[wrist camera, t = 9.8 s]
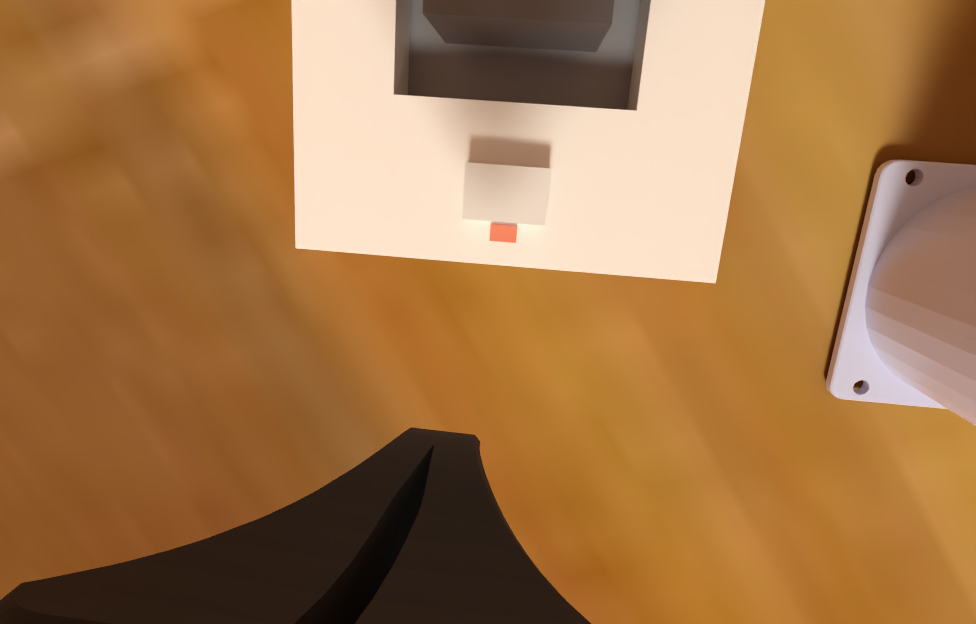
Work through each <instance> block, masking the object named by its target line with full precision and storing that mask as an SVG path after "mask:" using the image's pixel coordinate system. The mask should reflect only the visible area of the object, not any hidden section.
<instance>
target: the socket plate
mask: <svg viewBox="0 0 976 624" xmlns="http://www.w3.org/2000/svg"><path fill="white" fill-rule="evenodd" d="M764 4H765V0H615V1H614V10H613V19H612V25H611V26H610V28H609V30H608V32H607V34H606V35H605V37H604V39H603V41H602V43H601V44H600V46H599V48H598V50H597V52H583V51H566V50H550V49H533V48H516V47H499V46H482V45H466V44H449V43H445V42H444V40H443V39H442V38H441V37H440V35H439V34H438V33H437V31H436V30H435V29H434V27H433V26H432V25H431V24H430V22H429V21H428V20H427V18H426V17H425V16H424V14H423V0H292V53H293V116H294V178H295V241H296V248H300V249H312V250H324V251H336V252H348V253H360V254H372V255H384V256H396V257H408V258H420V259H432V260H444V261H456V262H468V263H480V264H492V265H504V266H516V267H528V268H540V269H552V270H564V271H576V272H588V273H600V274H612V275H624V276H636V277H648V278H660V279H672V280H684V281H696V282H708V283H716V278H717V272H718V267H719V261H720V255H721V250H722V244H723V238H724V233H725V227H726V221H727V215H728V210H729V204H730V198H731V193H732V187H733V181H734V175H735V170H736V164H737V158H738V153H739V147H740V141H741V135H742V130H743V124H744V118H745V113H746V107H747V101H748V96H749V90H750V84H751V78H752V73H753V67H754V61H755V56H756V50H757V44H758V38H759V33H760V27H761V21H762V16H763V10H764Z"/></svg>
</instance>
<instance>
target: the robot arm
mask: <svg viewBox="0 0 976 624" xmlns="http://www.w3.org/2000/svg"><path fill="white" fill-rule="evenodd" d="M910 170H913V171H914V172H915V179H914V181H913V182H912V183H911V184H910V185H908V184H907V183H906V175H907V173H908V172H909V171H910ZM860 380H863V385H862V387H861V388H859V389H858V390H853V386H854V384H855V383H856V382H858V381H860ZM826 387H827V389H828V391H829V392H830V393H832V394H833V395H834V396H835V397H837V398H840V399H847V400H857V401H868V402H879V403H889V404H900V405H911V406H921V407H932V408H943V409H949V410H950V411H952V412H954V413H955V414H957V415H959V416H960V417H962V418H963V419H965V420H967V421H968V422H970V423H972V424H973V425H975V426H976V165H970V164H956V163H942V162H927V161H913V160H888V161H887V162H885V163H883V164H882V165H881V166H880V167H879V168H878V169H877V171H876V173H875V176H874V180H873V185H872V189H871V193H870V197H869V201H868V206H867V210H866V214H865V218H864V223H863V227H862V231H861V235H860V240H859V244H858V248H857V252H856V257H855V261H854V265H853V269H852V273H851V278H850V282H849V286H848V290H847V295H846V299H845V303H844V307H843V312H842V316H841V320H840V324H839V329H838V333H837V337H836V341H835V345H834V350H833V354H832V358H831V362H830V367H829V371H828V375H827V379H826ZM479 447H480V441H479V440H478V438H477V437H476V436H475V435H471V434H462V433H454V432H445V431H436V430H427V429H419V428H410V429H408V430H407V431H405V432H404V433H402V434H401V435H400V436H398V437H397V438H396V439H394V440H393V441H391V442H390V443H389V444H387V445H386V446H385V447H383V448H382V449H381V450H379V451H378V452H376V453H375V454H373V455H372V456H371V457H369V458H368V459H366V460H365V461H363V462H362V463H361V464H359V465H358V466H356V467H355V468H353V469H351V470H350V471H348V472H347V473H345V474H343V475H342V476H340V477H338V478H337V479H335V480H333V481H332V482H330V483H329V484H327V485H325V486H324V487H322V488H320V489H319V490H317V491H315V492H313V493H312V494H310V495H308V496H306V497H304V498H302V499H300V500H298V501H296V502H294V503H292V504H290V505H288V506H286V507H284V508H282V509H279V510H277V511H275V512H273V513H271V514H269V515H267V516H264V517H262V518H260V519H257V520H255V521H252V522H249V523H247V524H244V525H241V526H239V527H236V528H233V529H231V530H228V531H225V532H223V533H220V534H217V535H215V536H212V537H210V538H207V539H204V540H201V541H198V542H195V543H191V544H188V545H185V546H182V547H178V548H175V549H172V550H169V551H165V552H161V553H157V554H154V555H150V556H146V557H143V558H139V559H135V560H131V561H127V562H123V563H119V564H115V565H111V566H106V567H101V568H96V569H91V570H86V571H81V572H76V573H72V574H67V575H62V576H57V577H52V578H47V579H42V580H36V581H31V582H25V583H21V584H20V585H19V586H17V587H16V588H15V589H14V590H12V591H11V592H10V593H9V594H7V595H6V596H5V597H4V598H3V599H1V600H0V624H591V623H590V622H589V621H588V620H586V619H585V618H584V617H583V616H582V615H581V614H580V613H579V612H578V611H577V610H576V609H575V608H573V607H572V606H571V605H570V604H569V603H568V602H567V601H566V600H565V599H564V598H563V597H562V596H561V595H560V594H559V593H558V591H557V590H556V589H555V588H554V587H553V586H552V585H551V584H550V582H549V581H548V580H547V579H546V578H545V577H544V576H543V575H542V574H541V572H540V571H539V570H538V568H537V567H536V566H535V564H534V563H533V562H532V560H531V559H530V558H529V556H528V555H527V554H526V552H525V551H524V549H523V548H522V546H521V545H520V543H519V542H518V540H517V539H516V537H515V535H514V534H513V532H512V530H511V529H510V527H509V525H508V523H507V522H506V520H505V518H504V516H503V514H502V512H501V510H500V508H499V506H498V504H497V502H496V499H495V497H494V495H493V493H492V490H491V487H490V485H489V482H488V480H487V477H486V474H485V471H484V468H483V464H482V460H481V456H480V450H479Z"/></svg>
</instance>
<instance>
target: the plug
mask: <svg viewBox="0 0 976 624" xmlns="http://www.w3.org/2000/svg"><path fill="white" fill-rule="evenodd" d="M614 1H615V0H423V14H424V16H425V17H426V18H427V20H428V21H429V22H430V24H431V25H432V26H433V27H434V29H435V30H436V31H437V33H438V34H439V35H440V37H441V38H442V39H443V40H444V42H445V43H449V44H466V45H482V46H499V47H516V48H533V49H550V50H566V51H583V52H597V50H598V48H599V46H600V44H601V43H602V41H603V39H604V37H605V35H606V34H607V32H608V30H609V28H610V26H611V25H612V19H613V10H614Z"/></svg>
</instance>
